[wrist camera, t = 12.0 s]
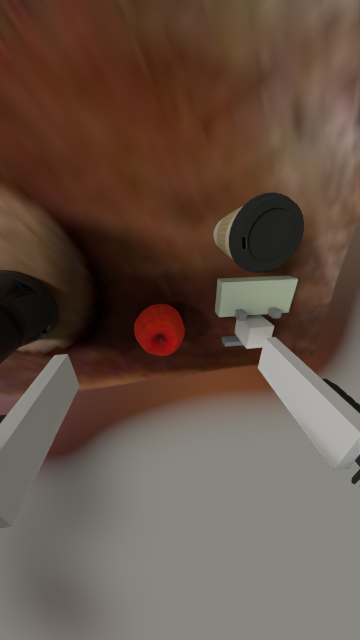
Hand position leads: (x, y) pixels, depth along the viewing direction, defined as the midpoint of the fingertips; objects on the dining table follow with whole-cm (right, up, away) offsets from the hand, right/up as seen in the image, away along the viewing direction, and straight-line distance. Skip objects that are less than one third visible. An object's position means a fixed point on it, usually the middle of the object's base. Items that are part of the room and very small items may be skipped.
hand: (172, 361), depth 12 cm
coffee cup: (+10, +20, +24) cm, 33 cm away
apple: (-4, +4, +30) cm, 31 cm away
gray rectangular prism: (+18, +2, +34) cm, 38 cm away
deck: (+17, +5, +32) cm, 37 cm away
